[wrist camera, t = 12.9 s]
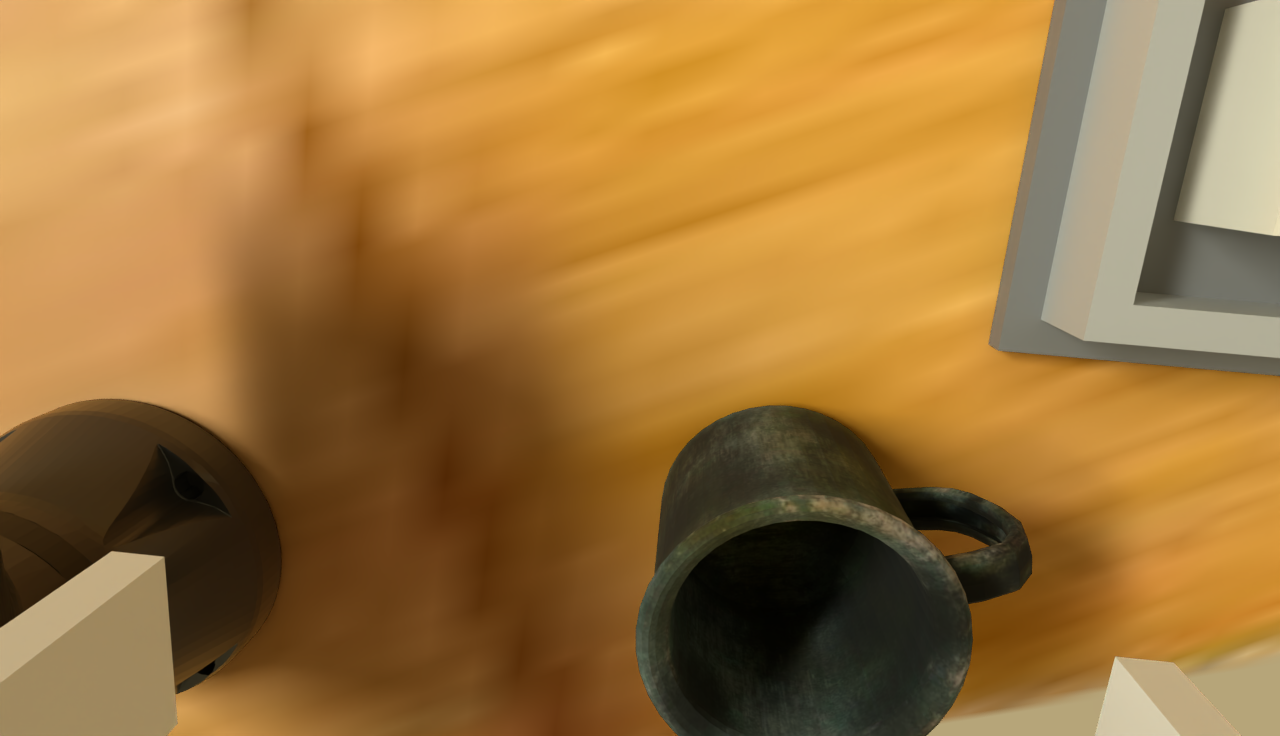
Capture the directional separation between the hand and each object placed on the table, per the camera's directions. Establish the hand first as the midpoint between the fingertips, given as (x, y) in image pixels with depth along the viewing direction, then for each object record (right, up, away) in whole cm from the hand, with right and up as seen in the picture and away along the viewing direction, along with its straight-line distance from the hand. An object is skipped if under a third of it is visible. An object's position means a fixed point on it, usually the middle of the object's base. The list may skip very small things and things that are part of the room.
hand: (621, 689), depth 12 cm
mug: (+8, -1, +28) cm, 29 cm away
